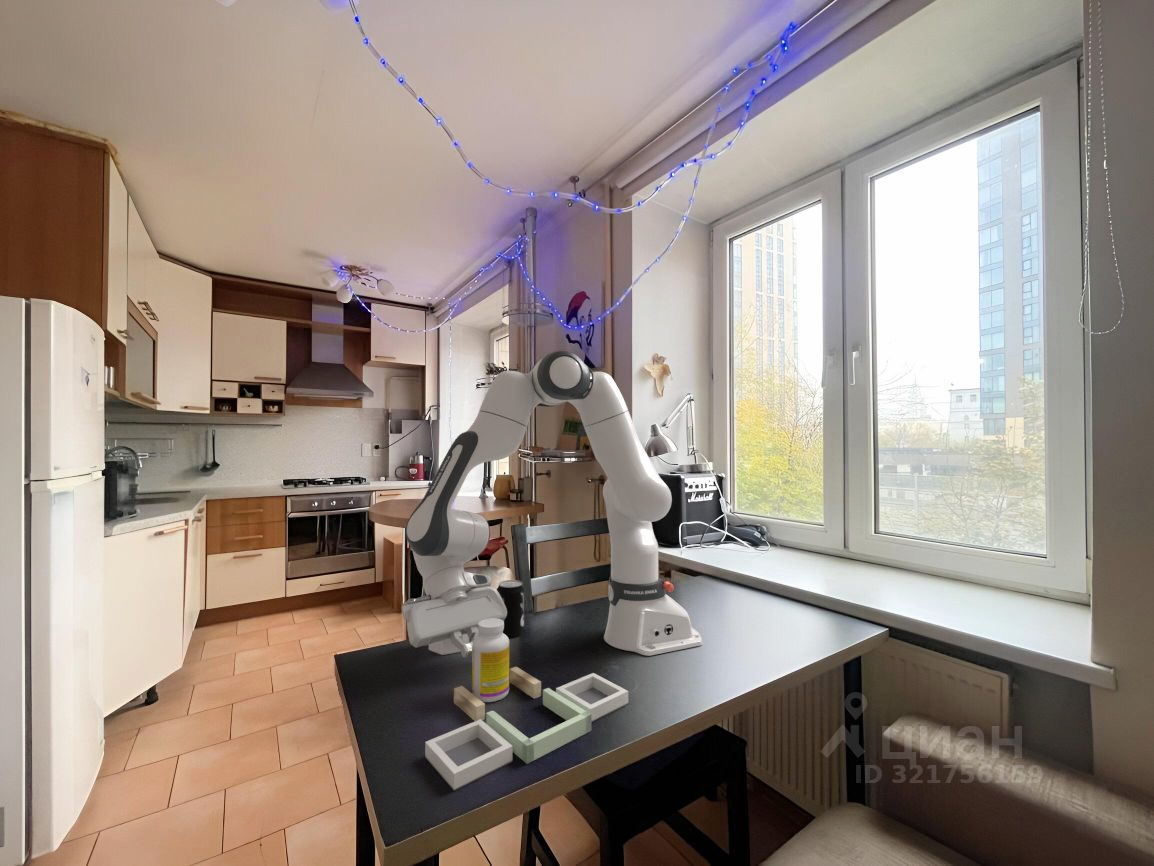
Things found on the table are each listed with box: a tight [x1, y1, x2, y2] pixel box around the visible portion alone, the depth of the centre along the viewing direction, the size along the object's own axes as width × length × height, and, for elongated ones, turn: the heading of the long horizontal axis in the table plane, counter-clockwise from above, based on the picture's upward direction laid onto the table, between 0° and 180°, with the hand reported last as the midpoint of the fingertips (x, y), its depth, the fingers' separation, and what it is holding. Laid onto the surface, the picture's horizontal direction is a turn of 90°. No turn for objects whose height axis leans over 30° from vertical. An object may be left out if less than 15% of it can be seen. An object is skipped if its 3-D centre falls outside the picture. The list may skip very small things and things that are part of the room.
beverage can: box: [496, 579, 525, 639], centre depth 116 cm, size 7×7×12 cm
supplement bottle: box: [471, 618, 510, 703], centre depth 88 cm, size 7×7×13 cm
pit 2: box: [555, 672, 629, 723], centre depth 85 cm, size 9×9×2 cm
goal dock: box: [485, 687, 593, 765], centre depth 77 cm, size 11×12×2 cm
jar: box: [428, 634, 470, 656], centre depth 108 cm, size 9×8×12 cm
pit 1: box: [424, 719, 514, 792], centre depth 69 cm, size 9×9×2 cm
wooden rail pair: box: [453, 666, 542, 722], centre depth 86 cm, size 8×13×2 cm, turn 131°
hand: (471, 653), depth 93 cm, fingers closed
